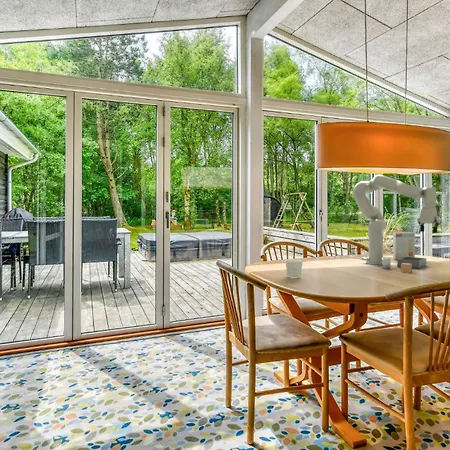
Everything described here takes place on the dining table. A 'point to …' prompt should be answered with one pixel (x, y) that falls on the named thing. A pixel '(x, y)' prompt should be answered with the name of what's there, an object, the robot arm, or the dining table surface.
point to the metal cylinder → (386, 263)
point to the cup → (294, 267)
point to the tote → (412, 262)
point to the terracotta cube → (406, 267)
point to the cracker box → (403, 244)
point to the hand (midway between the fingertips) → (428, 232)
